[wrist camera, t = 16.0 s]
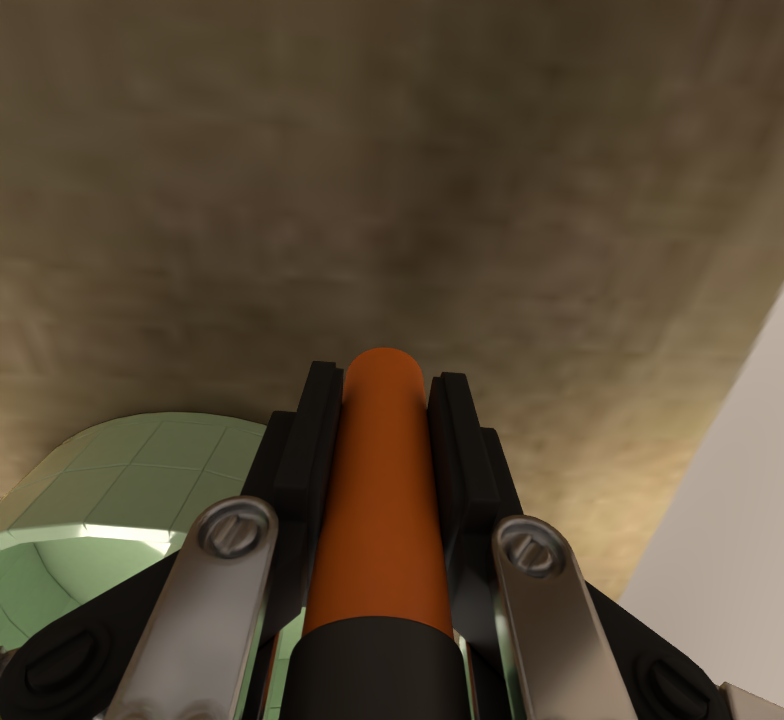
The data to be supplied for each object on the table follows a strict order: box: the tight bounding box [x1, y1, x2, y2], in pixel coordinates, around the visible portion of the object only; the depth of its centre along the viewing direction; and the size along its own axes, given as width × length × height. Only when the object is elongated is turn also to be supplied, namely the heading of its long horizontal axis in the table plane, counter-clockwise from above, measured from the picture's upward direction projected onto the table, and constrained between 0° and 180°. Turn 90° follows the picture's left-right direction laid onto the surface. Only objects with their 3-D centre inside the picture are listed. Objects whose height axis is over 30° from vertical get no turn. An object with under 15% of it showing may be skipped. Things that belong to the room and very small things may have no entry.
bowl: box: [0, 412, 306, 720], centre depth 18 cm, size 17×17×5 cm
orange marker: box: [278, 347, 472, 720], centre depth 8 cm, size 2×2×9 cm
